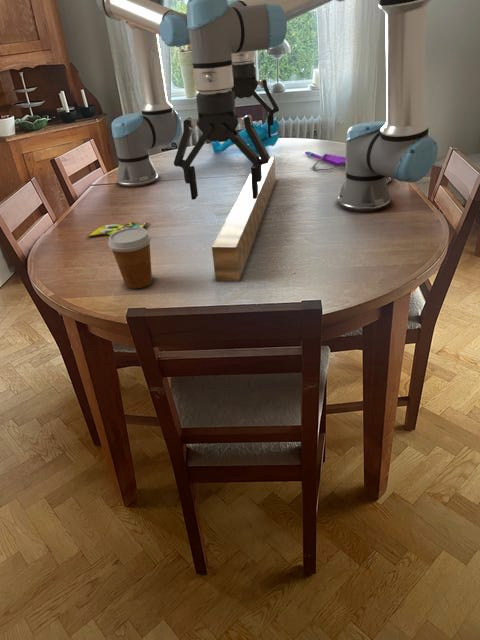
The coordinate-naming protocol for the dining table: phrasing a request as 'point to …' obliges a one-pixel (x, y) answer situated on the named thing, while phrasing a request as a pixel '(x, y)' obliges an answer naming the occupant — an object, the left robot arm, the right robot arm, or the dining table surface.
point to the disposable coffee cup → (132, 255)
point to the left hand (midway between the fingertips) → (247, 138)
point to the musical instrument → (328, 159)
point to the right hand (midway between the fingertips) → (224, 197)
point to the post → (242, 226)
